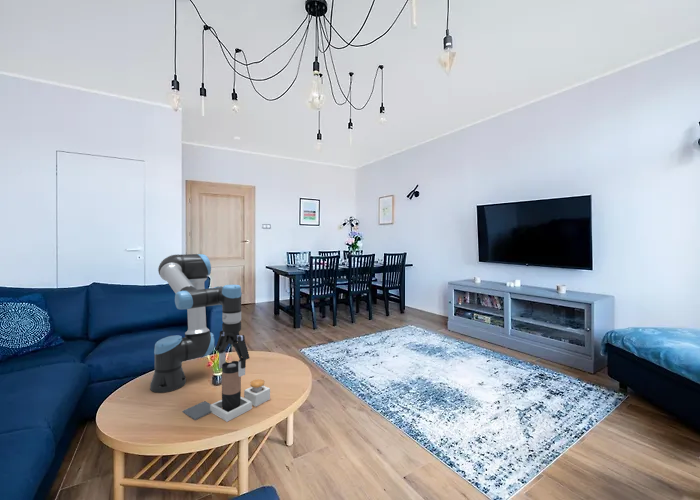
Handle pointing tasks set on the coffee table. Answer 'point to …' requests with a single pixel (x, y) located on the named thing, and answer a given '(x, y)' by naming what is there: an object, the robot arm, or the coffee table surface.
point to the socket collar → (228, 416)
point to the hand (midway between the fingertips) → (231, 371)
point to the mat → (198, 410)
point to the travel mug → (230, 386)
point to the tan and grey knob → (257, 385)
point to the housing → (257, 395)
